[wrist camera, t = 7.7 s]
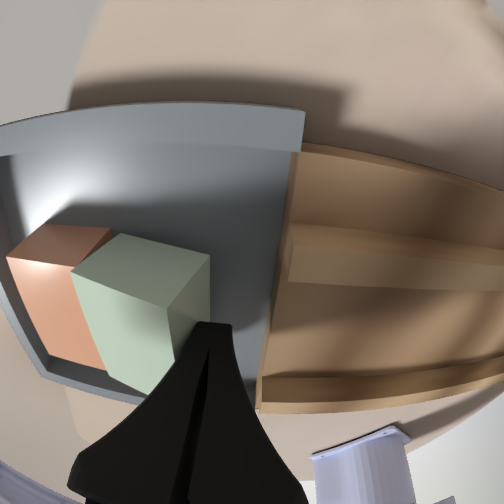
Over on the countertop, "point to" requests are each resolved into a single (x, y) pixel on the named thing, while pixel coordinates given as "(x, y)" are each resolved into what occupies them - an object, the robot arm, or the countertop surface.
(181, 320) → the pale green upright block
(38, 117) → the tray
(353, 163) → the brown wooden rack
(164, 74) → the countertop surface
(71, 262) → the salmon pink block
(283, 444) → the countertop surface
